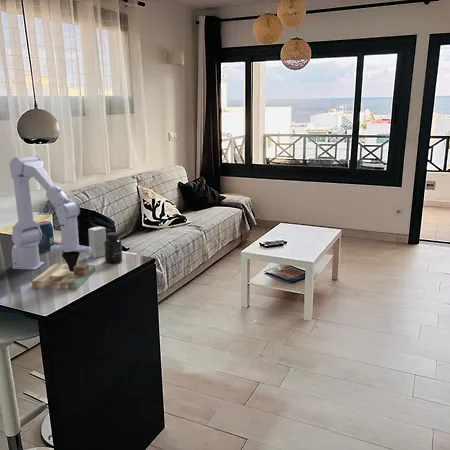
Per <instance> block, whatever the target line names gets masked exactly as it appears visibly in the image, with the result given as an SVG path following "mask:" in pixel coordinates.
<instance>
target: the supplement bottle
mask: <svg viewBox="0 0 450 450" xmlns="http://www.w3.org/2000/svg"><path fill="white" fill-rule="evenodd" d="M122 243H123V242H122V240H121V239H120V233H119V232H115V231H112V232H108V233H107V232H106V241H105V243H104V245H105V255H104V261H105V263H107V264H108V265H117V264H120V263H122V262H123V245H122Z"/></svg>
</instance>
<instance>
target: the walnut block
mask: <svg viewBox="0 0 450 450" xmlns="http://www.w3.org/2000/svg"><path fill="white" fill-rule="evenodd" d="M76 264H77V265H76V266H74V267H73V269H74V275H83V276H85V275H86V274H87V273H88V272H89V266H88V265H89V264H88V263H76Z"/></svg>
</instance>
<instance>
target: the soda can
mask: <svg viewBox="0 0 450 450" xmlns="http://www.w3.org/2000/svg"><path fill="white" fill-rule="evenodd" d="M37 223H39V226H40V229H41V232H42V239H41V240H40V243H39V244H38V249H39V251H41V252H45V251H46V252H47V251H51V249H50V247H51V246H53V245H56V244H55V235H54V234H55V233H54V225H53V223H52V221H47V220H46V221H44V220H43V221H38V222H37Z"/></svg>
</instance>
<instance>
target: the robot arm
mask: <svg viewBox="0 0 450 450" xmlns="http://www.w3.org/2000/svg"><path fill="white" fill-rule="evenodd" d="M9 169H10V176H11V179H12V180H13V188H14V196H15V203H16V213H17V218H18V220H17V222H16V223H15V224H14V225H13V226H12V227H11V229H12V233H11V240H12V243H13V244H14V245H13V246H12V247H11V248H12V249H11V261H12V262H11V263H12V269H13V270H31V271H33V270H34V271H35V270H37V269H38V268H40V267H41V266H42V265H44V264H45V261H41V259H40V249H39V248H38V244H39V243H40V240H41V239H42V232H41V229H40V226H39V223H38V222H37V221H35V220H34V216H33V215H34V214H33V208H32V207H33V206H32V198H31V197H32V196H31V190H30V189H31V188H30V181H29V180H30V179H31V178H34V179H35V181H37V182H38V184H39V185H40V186H41V187H42V188H43V189H44V190H45V196H46V198H47V199H48V200H49V202H50V203H51V204H52V205H53V207H54V208H55V216H56V217H57V220H58V223H59V225H60V233H61V234H60V235H61V244H57V245H56V244H55V245H53V246H51V247H50V249H51V250H50V253H55V252H59V253H60V252H61V253H62V252H63V253H62V254H61V257H62V258H63V260H64V261H65V262H66V263H65V264H68V267H69V270H70V272H74V269H73V267H74V266H76V264H78V259H79V257H80V255H81V253H84V254H85V253H87V254H90V253H91V252H92V250H91V247H89V245H88V246H87V245H81V244H80V241H79V240H80V239H79V228H78V216H79V215H80V213H81V208H80V205H79V203H78V202H77V201H76V200H73V199H72V198H69V197H68V195H67V194H66V193H65V191H64V190H63V188H62V187H61V186H58V185H55V183H54V182H53V181H52V179H51V177H50V175H49V174H48V173H47V171H46V170H45V162H44V161H43V160H42V158H41V157H40V156H39V155H37V154H35V155H31V156H29V155H28V156H21V157H20V156H19V157H16V156H15V157H13V158H12V159H11V160H10V162H9Z"/></svg>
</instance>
